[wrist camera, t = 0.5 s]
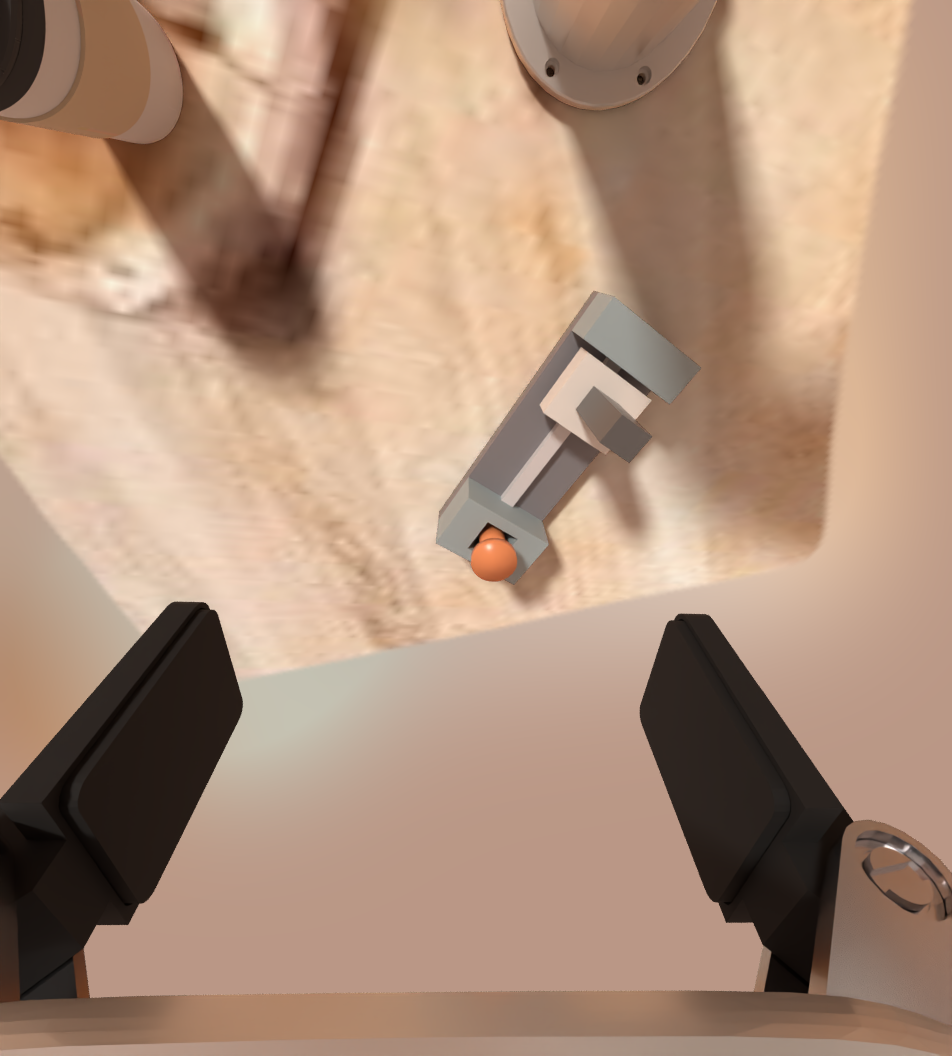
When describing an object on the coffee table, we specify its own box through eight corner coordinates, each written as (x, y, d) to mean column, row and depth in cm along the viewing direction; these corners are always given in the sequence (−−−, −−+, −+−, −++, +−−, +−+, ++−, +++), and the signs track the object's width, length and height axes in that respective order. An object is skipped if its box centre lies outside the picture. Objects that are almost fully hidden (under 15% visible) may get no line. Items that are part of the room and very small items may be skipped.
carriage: (581, 346, 34) (616, 374, 26) (641, 392, 36) (692, 431, 28) (539, 404, 36) (560, 446, 28) (598, 445, 38) (633, 495, 30)
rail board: (593, 291, 34) (613, 296, 30) (670, 353, 37) (701, 368, 32) (439, 511, 43) (435, 543, 39) (509, 550, 46) (514, 584, 41)
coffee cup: (216, 23, 27) (-15, -190, 14) (189, 194, 31) (-9, 150, 18) (42, -83, 25) (-417, -449, 12) (38, 115, 29) (-310, 1, 16)
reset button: (485, 505, 39) (488, 535, 35) (520, 525, 40) (526, 557, 36) (462, 535, 41) (462, 568, 37) (496, 554, 42) (500, 588, 38)
